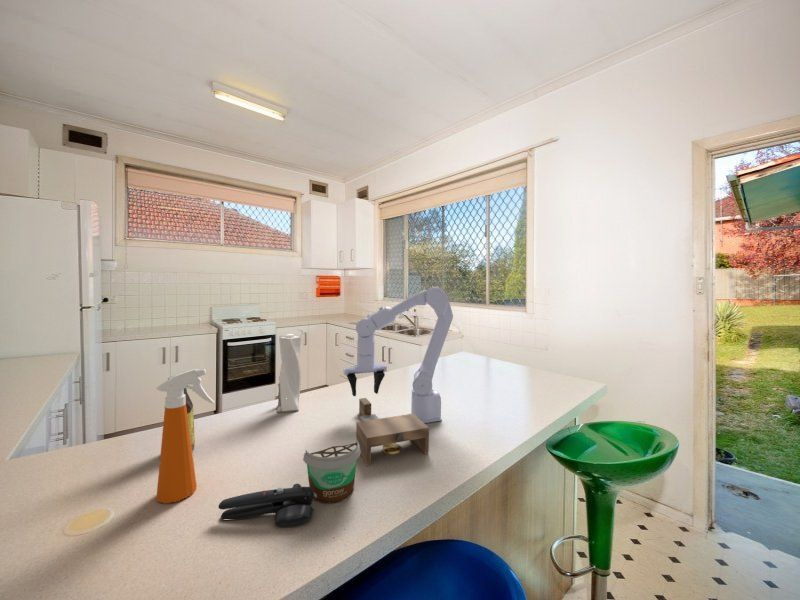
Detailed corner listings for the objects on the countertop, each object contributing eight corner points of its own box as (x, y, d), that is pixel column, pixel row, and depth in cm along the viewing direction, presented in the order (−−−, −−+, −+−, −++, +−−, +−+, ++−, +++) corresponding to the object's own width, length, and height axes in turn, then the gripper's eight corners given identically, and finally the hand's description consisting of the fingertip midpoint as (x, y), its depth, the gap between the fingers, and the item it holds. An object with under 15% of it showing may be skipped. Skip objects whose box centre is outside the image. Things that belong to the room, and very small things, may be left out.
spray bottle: (211, 497, 69) (209, 372, 68) (150, 507, 66) (147, 375, 65) (219, 478, 76) (218, 364, 74) (164, 486, 73) (161, 366, 71)
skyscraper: (302, 403, 123) (302, 328, 122) (303, 411, 115) (303, 331, 114) (277, 405, 120) (277, 328, 119) (277, 414, 113) (276, 332, 111)
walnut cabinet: (412, 437, 98) (413, 413, 97) (429, 454, 88) (430, 428, 87) (356, 447, 91) (356, 422, 91) (367, 467, 81) (368, 439, 81)
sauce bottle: (200, 448, 89) (199, 375, 88) (178, 459, 83) (176, 381, 82) (182, 444, 91) (181, 372, 90) (159, 455, 86) (157, 378, 84)
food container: (309, 515, 64) (309, 464, 64) (302, 496, 70) (303, 450, 69) (368, 497, 70) (369, 450, 70) (358, 481, 76) (358, 438, 75)
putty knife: (369, 411, 117) (369, 397, 116) (392, 439, 96) (393, 422, 96) (355, 413, 115) (355, 399, 114) (376, 442, 94) (376, 425, 94)
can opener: (317, 504, 68) (317, 477, 68) (310, 529, 61) (310, 500, 61) (228, 506, 67) (228, 479, 67) (210, 532, 60) (210, 502, 60)
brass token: (396, 445, 93) (396, 441, 93) (403, 454, 89) (404, 449, 88) (379, 448, 91) (380, 444, 91) (386, 457, 87) (386, 453, 87)
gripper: (382, 350, 118) (381, 388, 119) (341, 353, 113) (341, 392, 113) (389, 354, 112) (388, 394, 113) (346, 357, 106) (346, 399, 107)
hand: (365, 394), depth 113 cm, fingers open, 7 cm apart
